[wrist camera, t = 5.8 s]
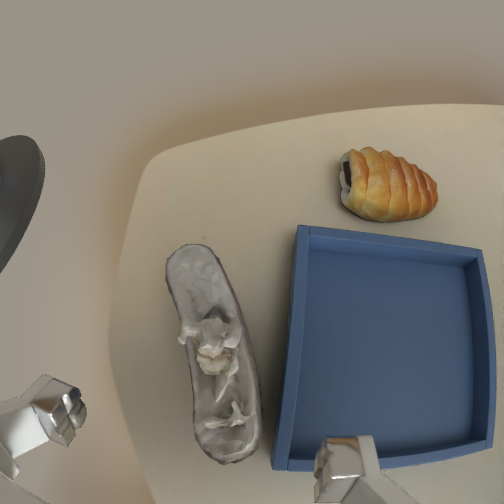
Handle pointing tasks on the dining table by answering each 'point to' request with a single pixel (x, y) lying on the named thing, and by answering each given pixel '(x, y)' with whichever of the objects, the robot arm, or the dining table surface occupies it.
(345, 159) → the pastry
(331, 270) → the blue tray
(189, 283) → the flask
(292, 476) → the dining table surface
